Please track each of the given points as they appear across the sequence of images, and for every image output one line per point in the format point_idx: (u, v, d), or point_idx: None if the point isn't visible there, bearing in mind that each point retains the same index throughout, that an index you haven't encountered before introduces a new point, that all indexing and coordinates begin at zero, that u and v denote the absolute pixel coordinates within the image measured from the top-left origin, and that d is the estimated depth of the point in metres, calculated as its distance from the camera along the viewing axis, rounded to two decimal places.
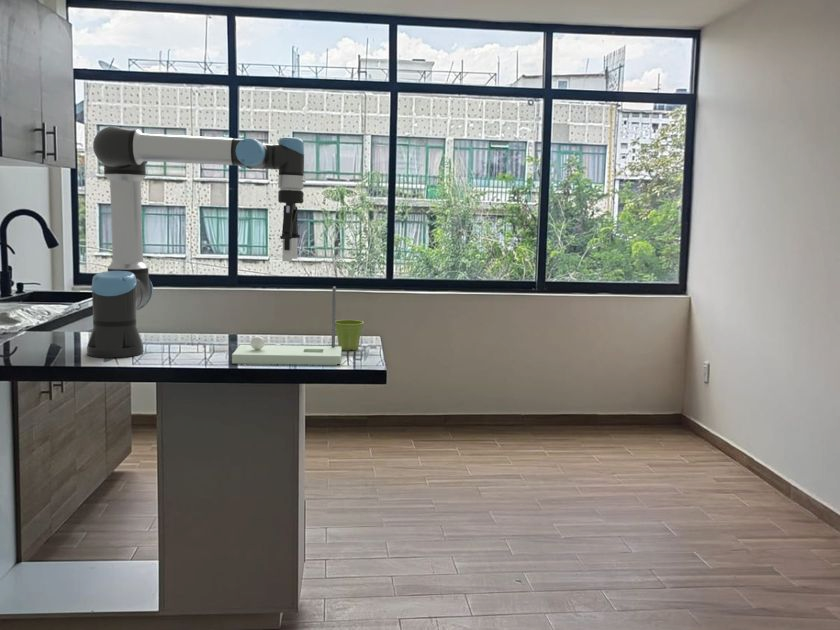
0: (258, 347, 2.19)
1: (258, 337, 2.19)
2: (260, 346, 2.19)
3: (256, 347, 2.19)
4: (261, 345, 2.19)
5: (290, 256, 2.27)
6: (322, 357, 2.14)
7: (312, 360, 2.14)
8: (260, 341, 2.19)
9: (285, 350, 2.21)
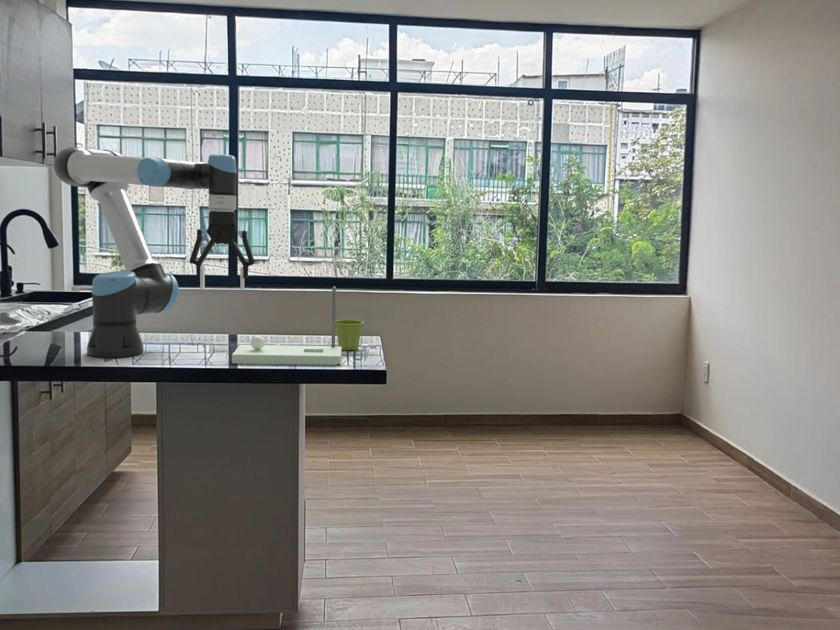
0: (258, 347, 2.19)
1: (258, 337, 2.19)
2: (260, 346, 2.19)
3: (256, 347, 2.19)
4: (261, 345, 2.19)
5: None
6: (322, 357, 2.14)
7: (312, 360, 2.14)
8: (260, 341, 2.19)
9: (285, 350, 2.21)
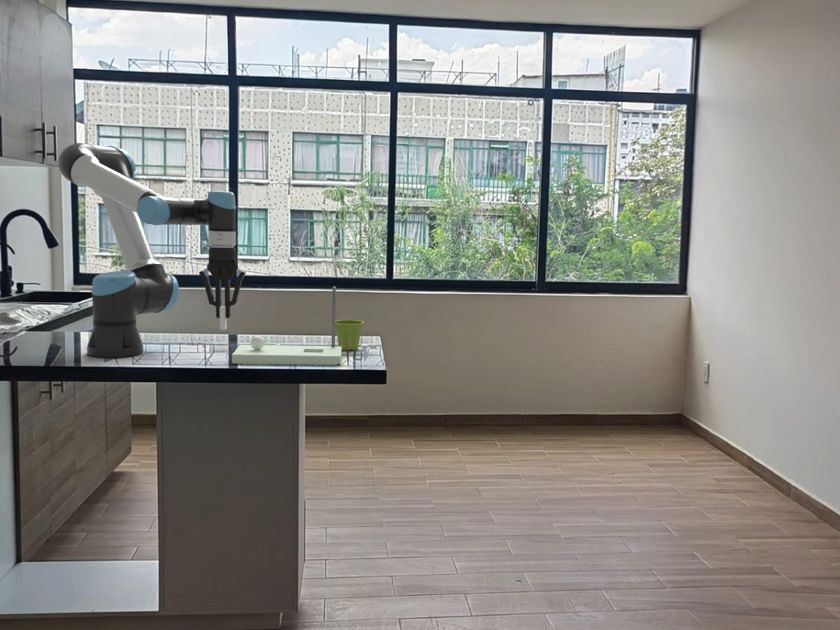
0: (258, 347, 2.19)
1: (258, 337, 2.19)
2: (260, 346, 2.19)
3: (256, 347, 2.19)
4: (261, 345, 2.19)
5: (220, 324, 2.17)
6: (322, 357, 2.14)
7: (312, 360, 2.14)
8: (260, 341, 2.19)
9: (285, 350, 2.21)
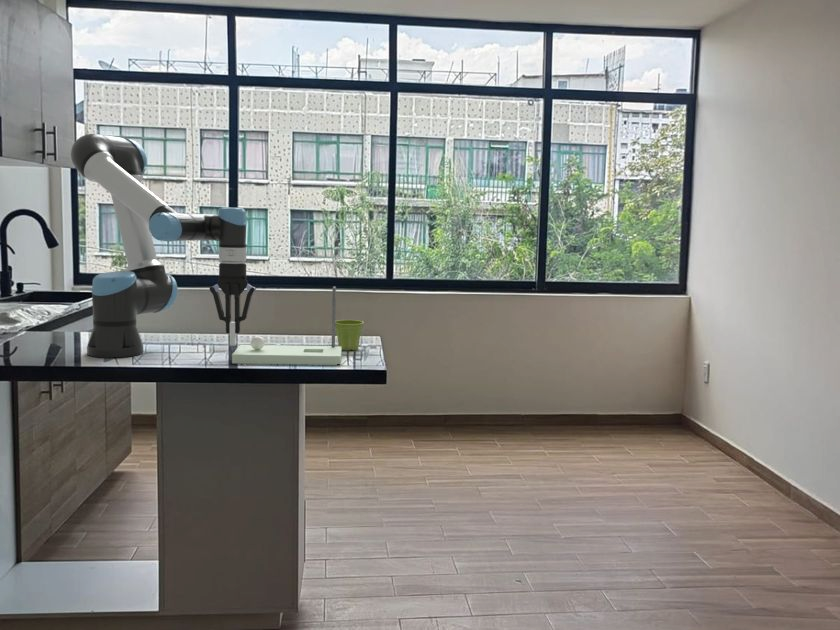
0: (258, 347, 2.19)
1: (258, 337, 2.19)
2: (260, 346, 2.19)
3: (256, 347, 2.19)
4: (261, 345, 2.19)
5: None
6: (322, 357, 2.14)
7: (312, 360, 2.14)
8: (260, 341, 2.19)
9: (285, 350, 2.21)
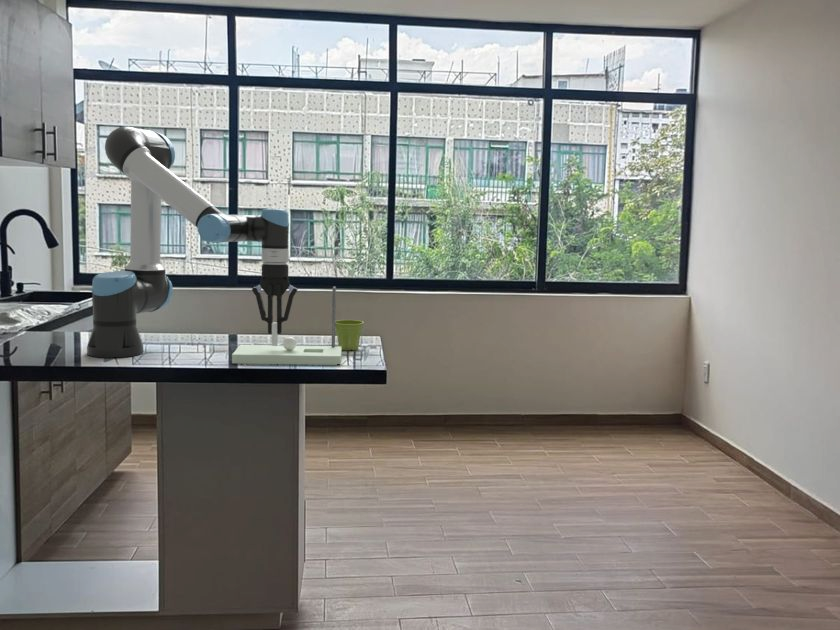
0: (292, 342, 2.19)
1: (283, 343, 2.20)
2: (291, 340, 2.19)
3: (292, 344, 2.19)
4: (289, 339, 2.19)
5: None
6: (322, 357, 2.14)
7: (312, 360, 2.14)
8: (286, 341, 2.19)
9: (285, 350, 2.21)
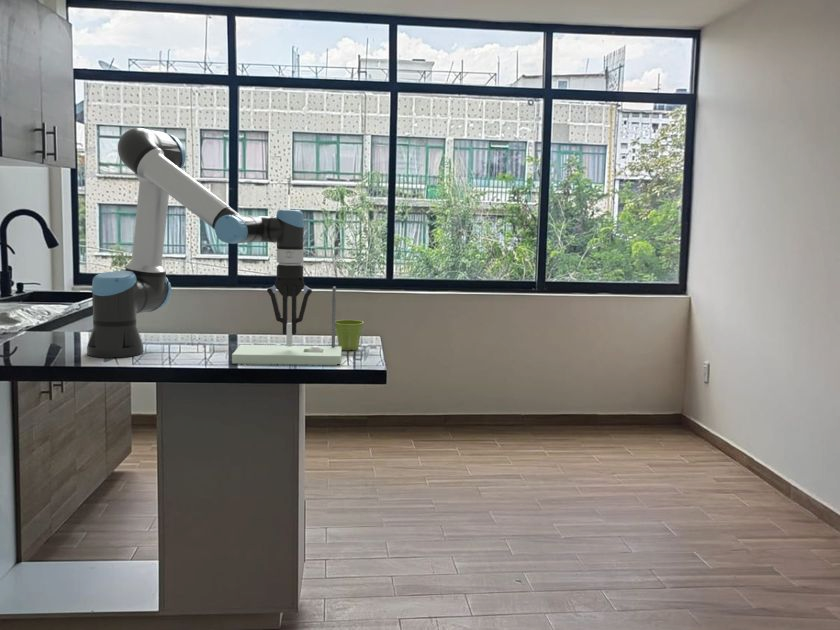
0: (311, 351, 2.20)
1: None
2: None
3: (313, 350, 2.20)
4: None
5: (286, 341, 2.20)
6: (322, 357, 2.14)
7: (312, 360, 2.14)
8: None
9: (285, 350, 2.21)
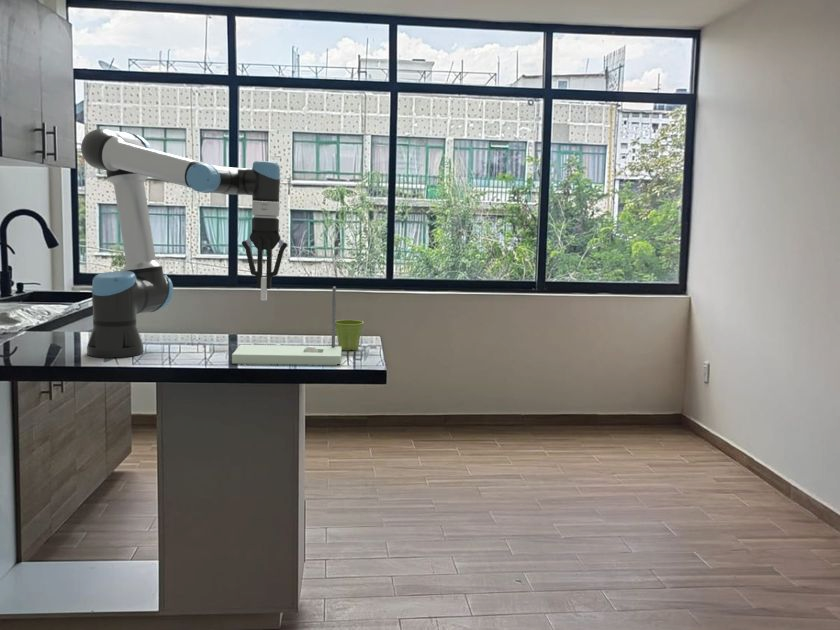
0: None
1: None
2: None
3: None
4: None
5: None
6: (322, 357, 2.14)
7: (312, 360, 2.14)
8: None
9: (285, 350, 2.21)
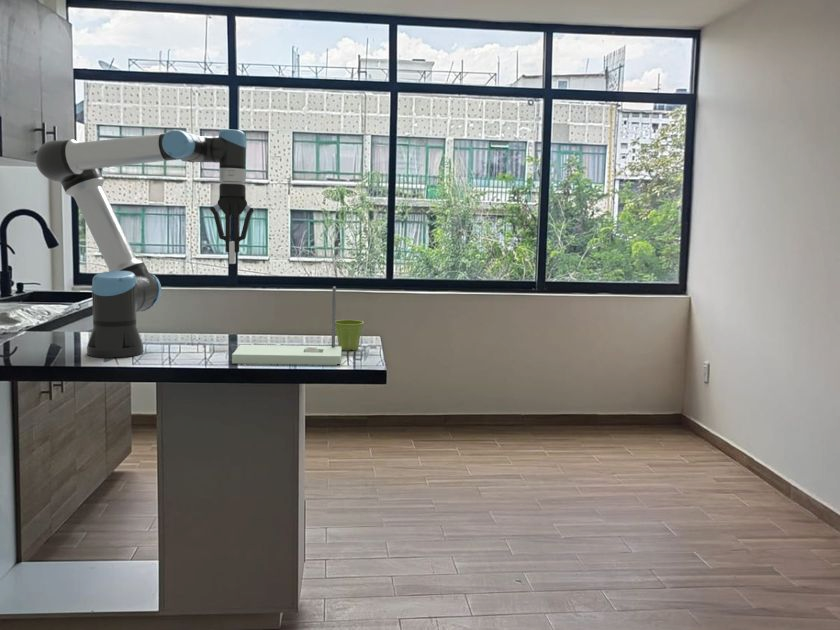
0: None
1: None
2: None
3: None
4: None
5: (229, 258, 2.27)
6: (322, 357, 2.14)
7: (312, 360, 2.14)
8: None
9: (285, 350, 2.21)
